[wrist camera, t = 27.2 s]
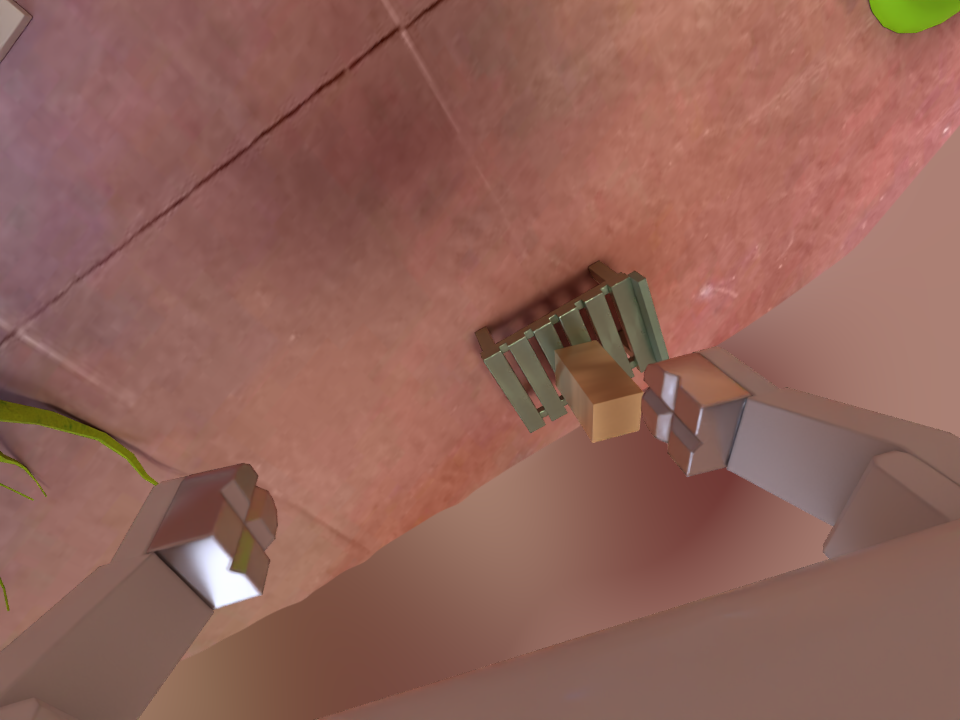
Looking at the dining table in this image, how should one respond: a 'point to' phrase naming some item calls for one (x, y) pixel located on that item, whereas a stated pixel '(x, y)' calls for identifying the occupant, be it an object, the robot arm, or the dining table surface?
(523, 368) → the rack
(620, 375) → the block
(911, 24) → the wineglass
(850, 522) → the robot arm
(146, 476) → the decorative plant
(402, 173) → the dining table surface
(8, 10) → the test tube rack
